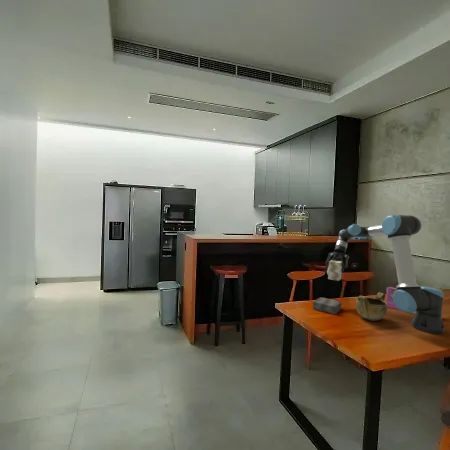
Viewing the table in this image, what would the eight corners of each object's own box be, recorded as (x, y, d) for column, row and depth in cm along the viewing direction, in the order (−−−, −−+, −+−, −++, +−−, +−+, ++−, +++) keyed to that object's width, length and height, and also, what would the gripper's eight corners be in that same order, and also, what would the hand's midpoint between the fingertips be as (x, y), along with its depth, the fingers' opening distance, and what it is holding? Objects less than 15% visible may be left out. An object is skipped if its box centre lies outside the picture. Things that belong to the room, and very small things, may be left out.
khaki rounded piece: (372, 327, 164) (374, 300, 163) (345, 316, 179) (347, 292, 178) (394, 320, 176) (396, 295, 175) (367, 311, 191) (369, 288, 190)
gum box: (383, 306, 204) (385, 286, 203) (387, 304, 209) (389, 285, 208) (424, 316, 186) (426, 295, 185) (427, 313, 191) (429, 293, 191)
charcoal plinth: (341, 309, 194) (341, 301, 194) (335, 314, 182) (335, 306, 182) (319, 304, 202) (320, 297, 202) (312, 309, 191) (313, 301, 190)
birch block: (340, 278, 204) (342, 261, 203) (338, 280, 198) (339, 263, 197) (330, 277, 207) (331, 260, 207) (327, 278, 202) (329, 261, 201)
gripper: (356, 253, 209) (349, 280, 196) (327, 249, 220) (319, 275, 207) (355, 246, 204) (348, 273, 192) (325, 243, 215) (317, 268, 203)
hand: (333, 274), depth 200 cm, fingers closed on birch block, 7 cm apart
